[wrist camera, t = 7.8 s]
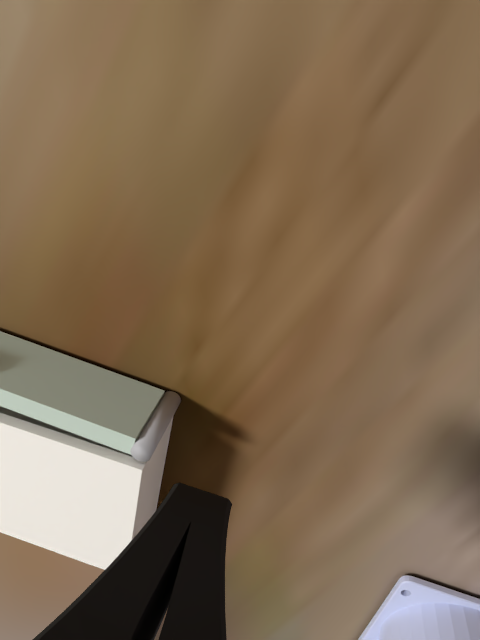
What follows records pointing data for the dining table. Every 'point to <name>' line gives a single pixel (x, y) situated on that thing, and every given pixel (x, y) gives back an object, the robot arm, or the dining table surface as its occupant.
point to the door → (83, 398)
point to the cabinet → (73, 489)
